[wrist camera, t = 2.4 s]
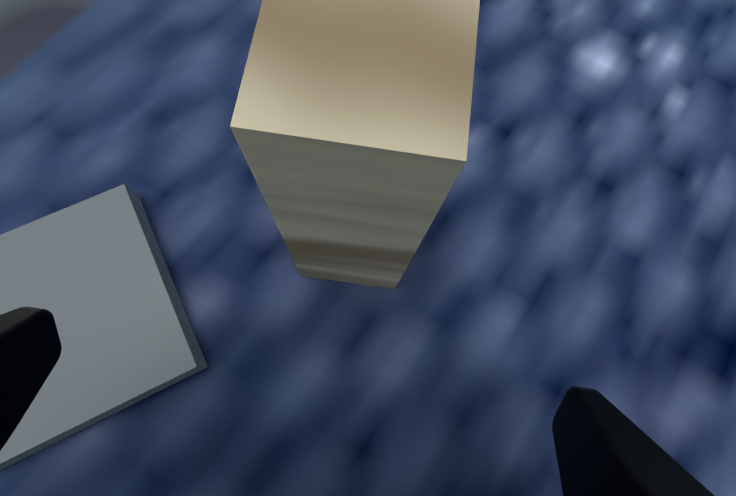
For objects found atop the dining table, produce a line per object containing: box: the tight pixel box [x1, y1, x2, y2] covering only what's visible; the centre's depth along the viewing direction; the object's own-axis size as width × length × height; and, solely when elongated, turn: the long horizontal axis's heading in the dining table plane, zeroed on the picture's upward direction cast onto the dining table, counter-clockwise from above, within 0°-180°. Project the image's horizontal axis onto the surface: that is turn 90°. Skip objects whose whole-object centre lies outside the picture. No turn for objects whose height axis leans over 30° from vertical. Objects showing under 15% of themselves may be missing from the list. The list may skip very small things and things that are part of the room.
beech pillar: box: [230, 0, 480, 289], centre depth 15 cm, size 4×4×13 cm
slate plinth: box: [0, 184, 208, 470], centre depth 19 cm, size 9×9×2 cm
